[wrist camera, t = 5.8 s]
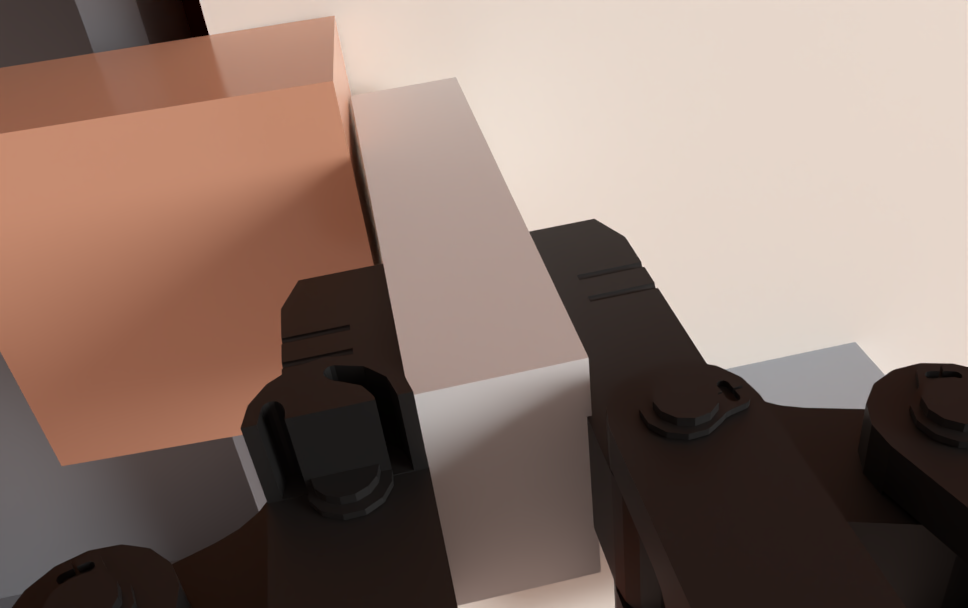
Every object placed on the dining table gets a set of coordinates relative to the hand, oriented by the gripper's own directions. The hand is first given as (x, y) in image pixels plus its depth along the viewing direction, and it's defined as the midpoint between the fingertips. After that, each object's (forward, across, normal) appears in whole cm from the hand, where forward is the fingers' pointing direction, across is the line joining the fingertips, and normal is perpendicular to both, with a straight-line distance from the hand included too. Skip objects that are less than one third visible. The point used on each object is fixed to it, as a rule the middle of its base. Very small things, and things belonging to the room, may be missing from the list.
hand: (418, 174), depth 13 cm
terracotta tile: (+1, -3, 0) cm, 3 cm away
